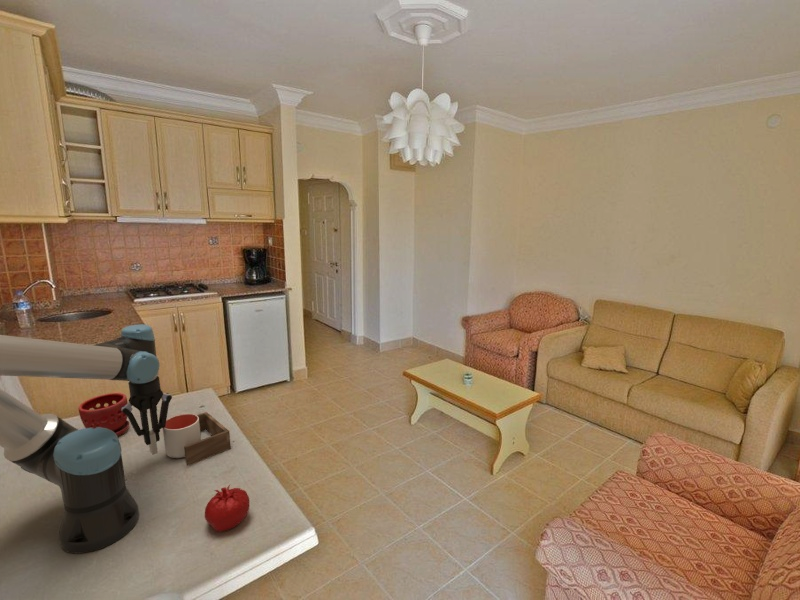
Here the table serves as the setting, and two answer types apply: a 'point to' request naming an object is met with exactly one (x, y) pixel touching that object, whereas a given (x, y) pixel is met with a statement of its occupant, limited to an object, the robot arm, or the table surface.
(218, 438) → the box
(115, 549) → the table surface
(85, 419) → the plant pot
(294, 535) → the table surface
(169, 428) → the cup
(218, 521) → the pomegranate
